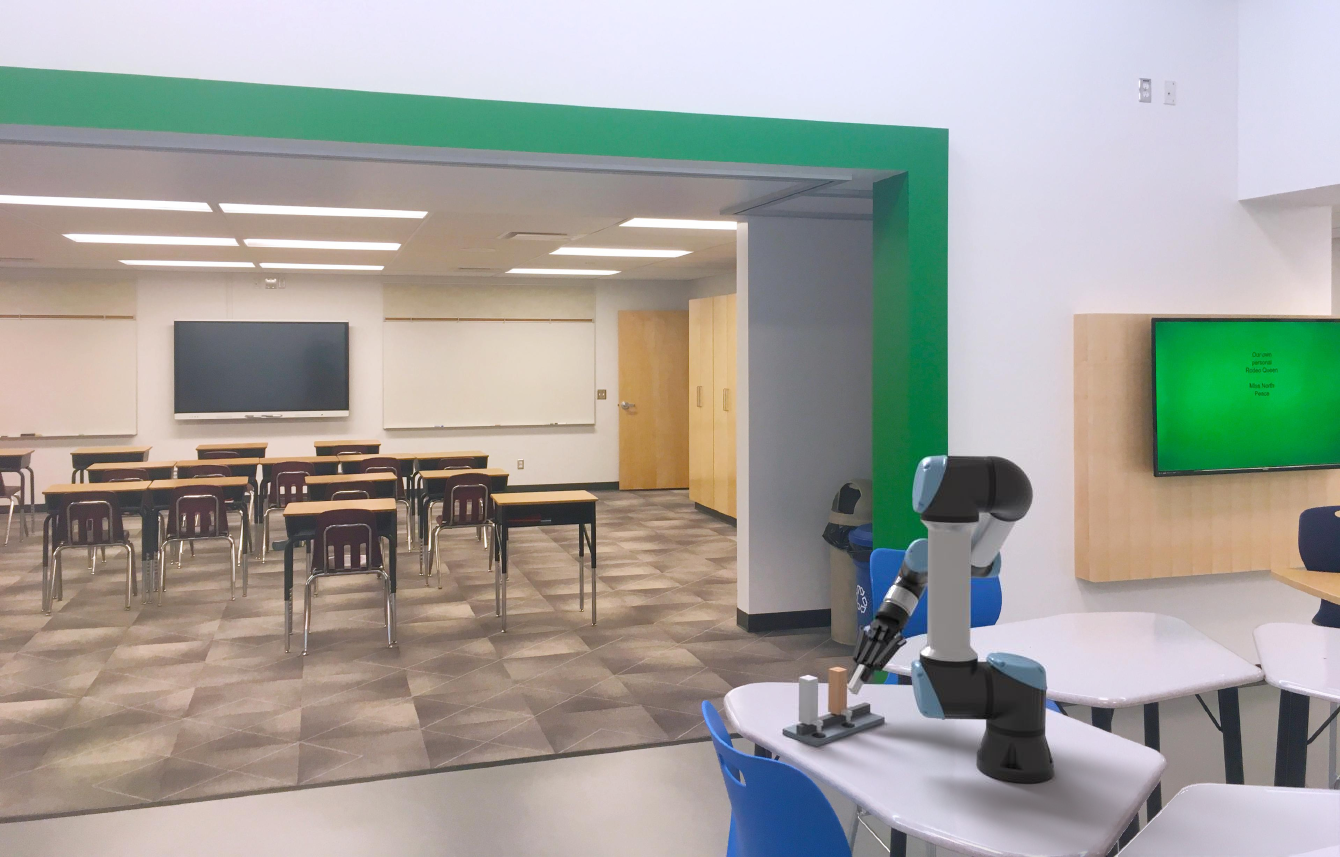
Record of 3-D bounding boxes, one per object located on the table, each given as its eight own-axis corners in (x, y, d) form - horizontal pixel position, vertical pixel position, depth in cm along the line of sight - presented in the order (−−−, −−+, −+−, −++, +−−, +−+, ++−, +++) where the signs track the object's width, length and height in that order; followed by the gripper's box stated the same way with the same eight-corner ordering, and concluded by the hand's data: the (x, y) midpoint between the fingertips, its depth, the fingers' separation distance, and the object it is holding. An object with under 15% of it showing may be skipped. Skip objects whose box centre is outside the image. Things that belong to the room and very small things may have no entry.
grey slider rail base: (851, 710, 243) (851, 655, 242) (884, 721, 235) (885, 665, 235) (782, 733, 228) (783, 674, 227) (816, 746, 220) (816, 685, 219)
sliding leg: (836, 714, 234) (837, 666, 234) (854, 720, 230) (855, 671, 230) (828, 717, 232) (828, 668, 232) (846, 723, 228) (846, 674, 228)
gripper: (925, 623, 242) (881, 706, 232) (881, 613, 252) (837, 693, 242) (912, 604, 238) (867, 688, 228) (868, 595, 248) (823, 675, 238)
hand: (852, 690), depth 235 cm, fingers closed
